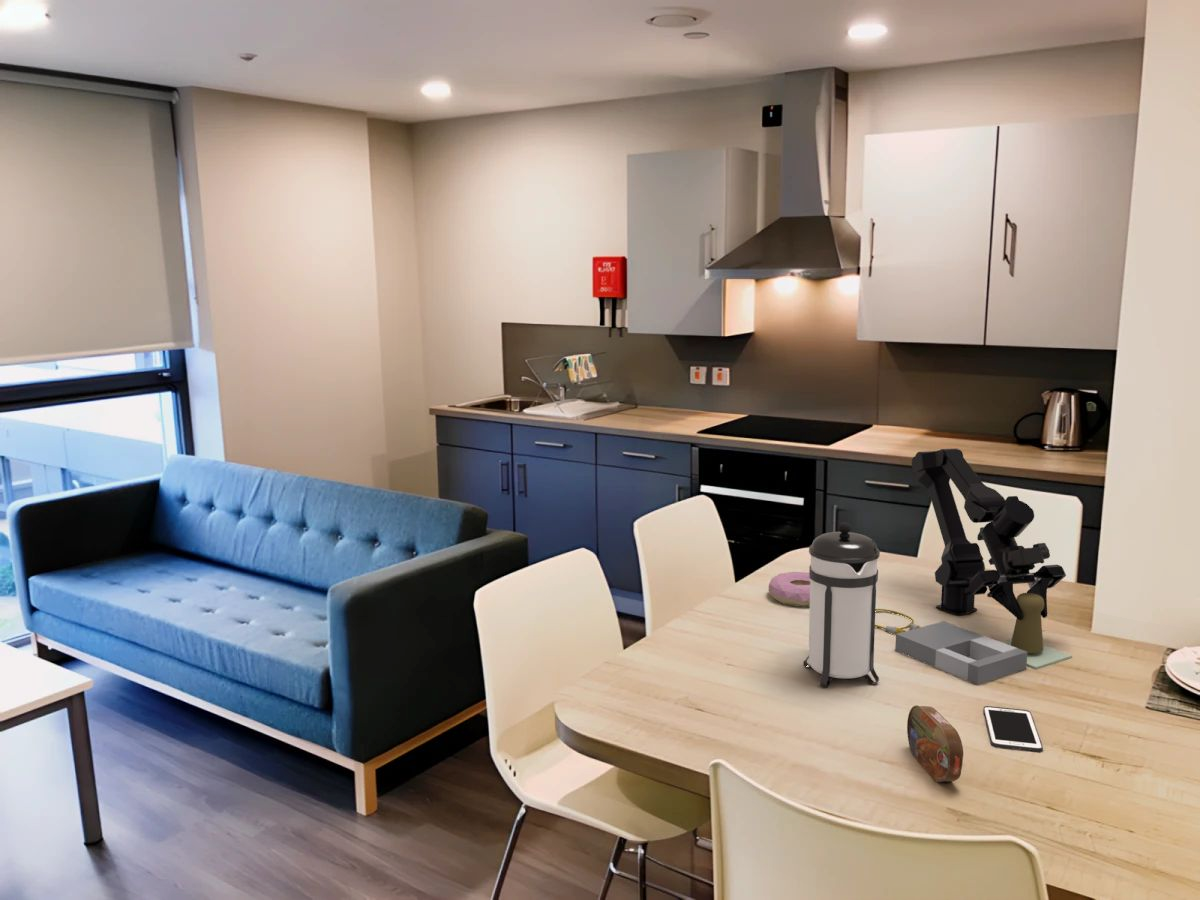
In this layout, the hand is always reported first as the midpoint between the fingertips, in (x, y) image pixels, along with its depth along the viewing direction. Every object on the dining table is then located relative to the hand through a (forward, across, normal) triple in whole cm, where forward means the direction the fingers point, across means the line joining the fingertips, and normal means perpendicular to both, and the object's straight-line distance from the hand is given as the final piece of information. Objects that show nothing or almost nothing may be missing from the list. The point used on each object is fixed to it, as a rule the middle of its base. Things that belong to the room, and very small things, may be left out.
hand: (1033, 618), depth 192 cm
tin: (+31, -43, -20) cm, 56 cm away
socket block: (+4, -15, +7) cm, 17 cm away
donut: (-25, -30, +37) cm, 54 cm away
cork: (+4, 0, +6) cm, 7 cm away
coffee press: (+5, -41, +7) cm, 42 cm away
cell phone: (+25, -23, -14) cm, 37 cm away
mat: (+5, 0, +6) cm, 8 cm away
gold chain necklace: (-10, -18, +22) cm, 31 cm away
